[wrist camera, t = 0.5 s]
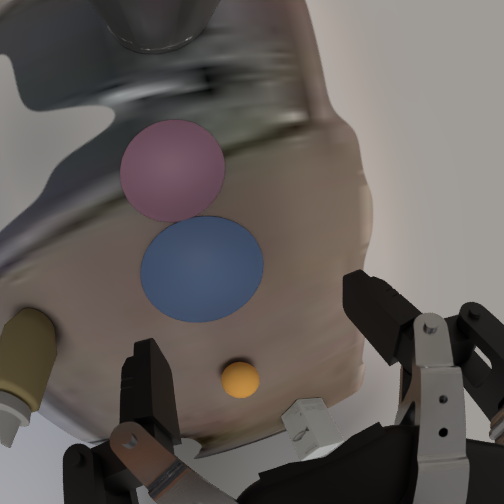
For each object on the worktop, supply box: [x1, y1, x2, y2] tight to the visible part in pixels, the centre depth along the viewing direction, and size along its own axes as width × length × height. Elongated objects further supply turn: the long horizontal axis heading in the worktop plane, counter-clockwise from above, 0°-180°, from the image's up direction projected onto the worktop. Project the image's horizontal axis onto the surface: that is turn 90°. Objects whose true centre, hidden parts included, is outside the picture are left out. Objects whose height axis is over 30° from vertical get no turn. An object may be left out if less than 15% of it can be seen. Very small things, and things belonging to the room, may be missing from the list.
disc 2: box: [141, 216, 263, 322], centre depth 31 cm, size 14×14×1 cm
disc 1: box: [120, 120, 225, 222], centre depth 25 cm, size 10×10×1 cm
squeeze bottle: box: [0, 308, 57, 448], centre depth 20 cm, size 8×8×18 cm
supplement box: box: [281, 398, 344, 461], centre depth 50 cm, size 7×7×13 cm
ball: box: [221, 362, 259, 398], centre depth 38 cm, size 6×6×6 cm
